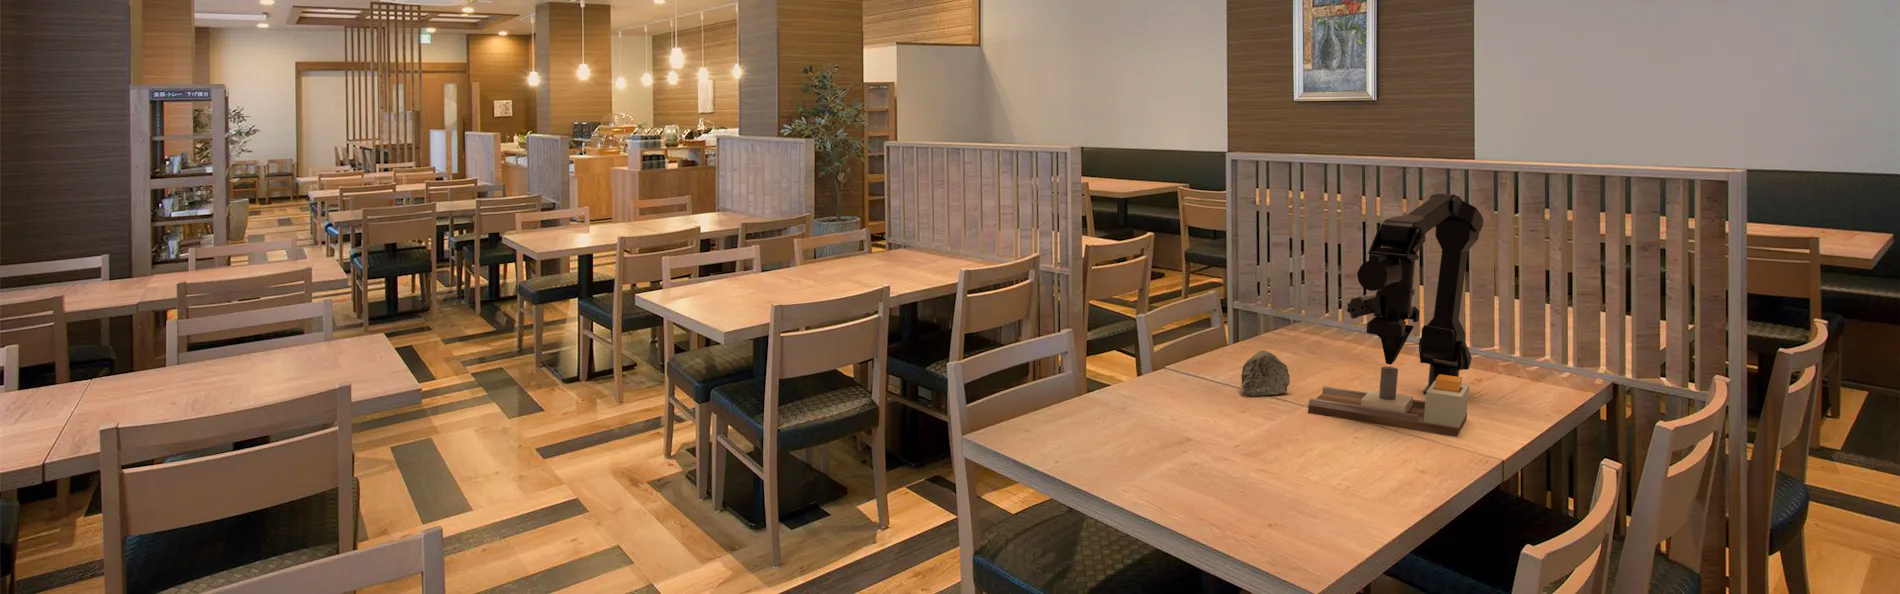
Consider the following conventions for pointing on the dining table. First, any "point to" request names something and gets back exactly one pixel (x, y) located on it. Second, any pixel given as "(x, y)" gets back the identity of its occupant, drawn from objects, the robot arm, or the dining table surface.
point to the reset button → (1448, 383)
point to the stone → (1264, 375)
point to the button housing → (1446, 406)
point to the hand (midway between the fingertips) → (1390, 362)
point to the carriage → (1388, 394)
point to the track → (1375, 412)
